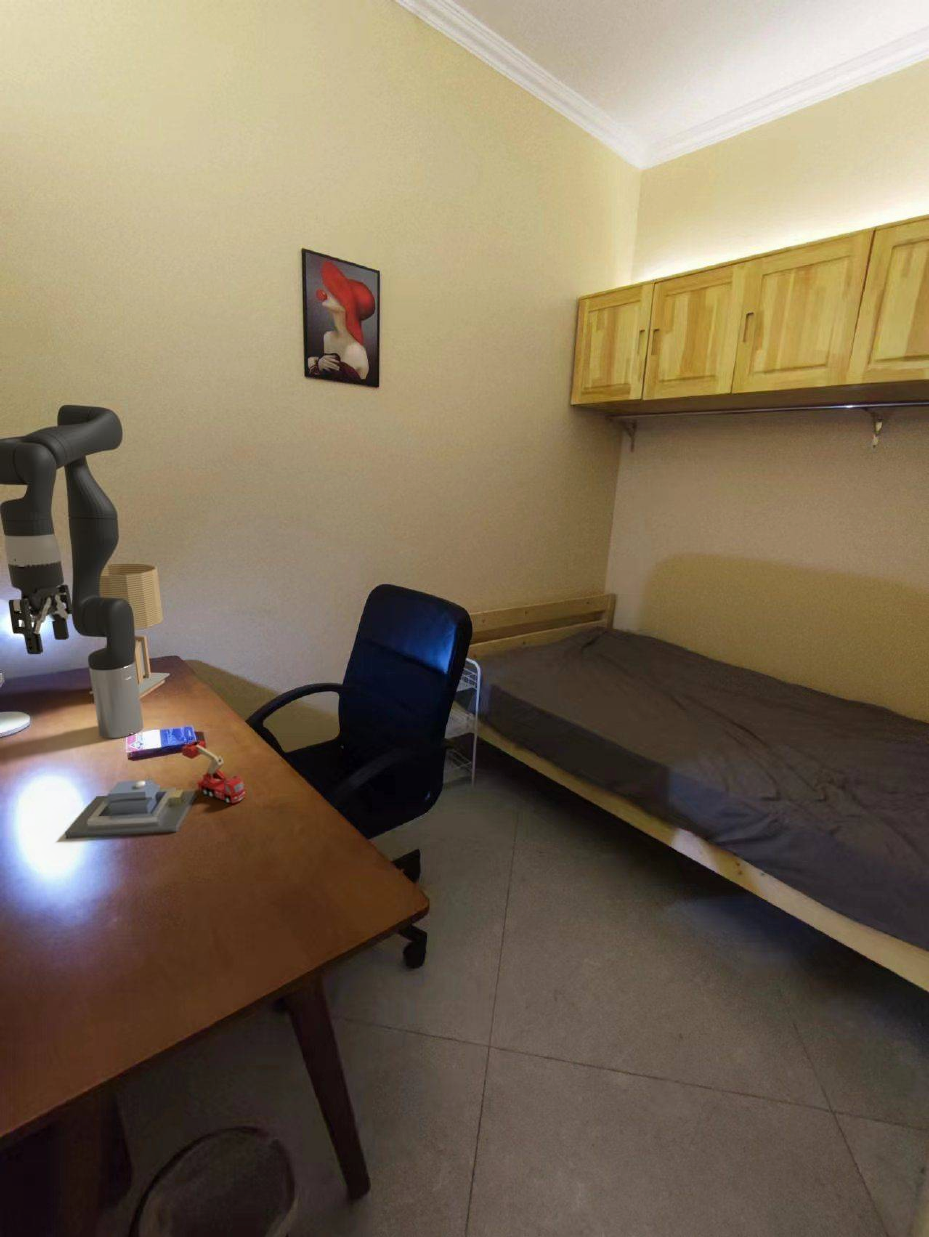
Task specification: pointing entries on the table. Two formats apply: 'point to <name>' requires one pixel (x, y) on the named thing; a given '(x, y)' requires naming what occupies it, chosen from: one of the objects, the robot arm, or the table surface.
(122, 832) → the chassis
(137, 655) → the desk lamp
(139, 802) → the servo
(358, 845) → the table surface
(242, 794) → the toy fire truck
